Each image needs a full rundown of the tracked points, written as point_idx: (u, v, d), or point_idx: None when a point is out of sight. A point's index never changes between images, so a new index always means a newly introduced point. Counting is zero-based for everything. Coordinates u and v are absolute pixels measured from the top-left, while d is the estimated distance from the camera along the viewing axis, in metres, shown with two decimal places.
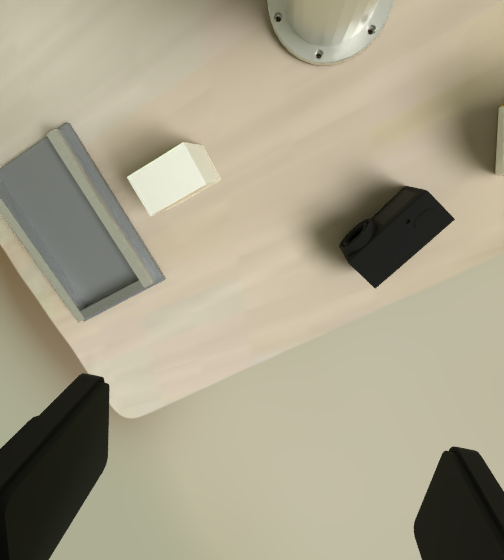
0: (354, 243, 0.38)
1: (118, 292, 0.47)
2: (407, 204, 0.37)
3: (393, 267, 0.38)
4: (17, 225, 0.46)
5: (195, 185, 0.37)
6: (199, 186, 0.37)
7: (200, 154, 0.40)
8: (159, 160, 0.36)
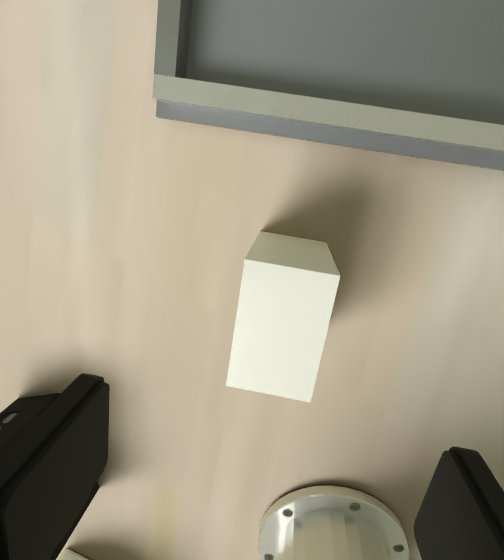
0: None
1: (177, 2, 0.19)
2: None
3: None
4: None
5: (236, 369, 0.19)
6: (230, 373, 0.19)
7: None
8: (316, 349, 0.18)
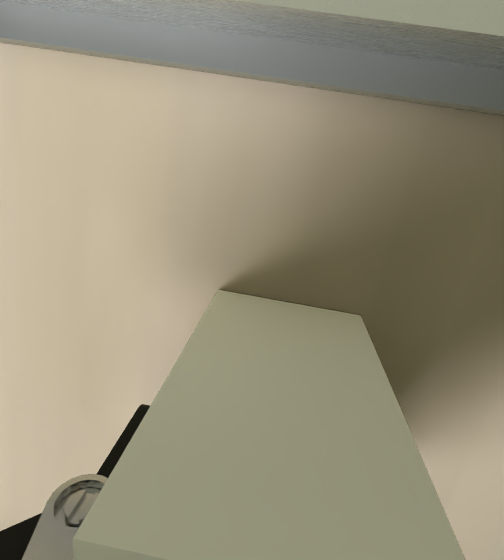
0: None
1: None
2: None
3: None
4: None
5: None
6: None
7: None
8: None
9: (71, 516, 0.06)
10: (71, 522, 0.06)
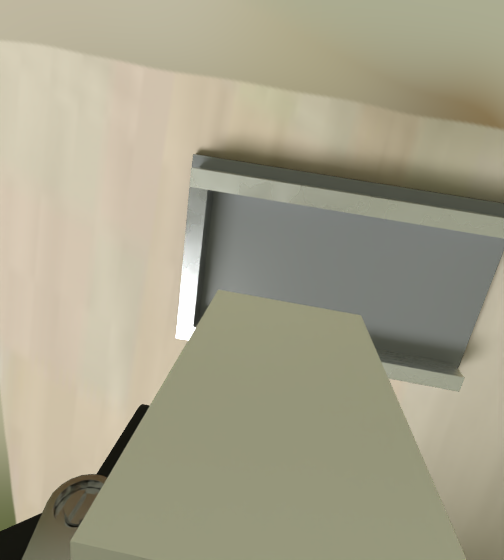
0: None
1: (195, 282, 0.26)
2: None
3: None
4: (413, 218, 0.23)
5: None
6: None
7: None
8: None
9: (71, 516, 0.06)
10: (71, 522, 0.06)
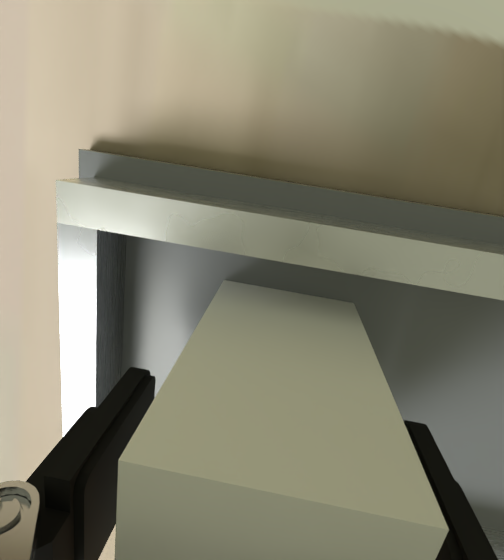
0: None
1: None
2: None
3: None
4: None
5: None
6: None
7: None
8: None
9: None
10: None
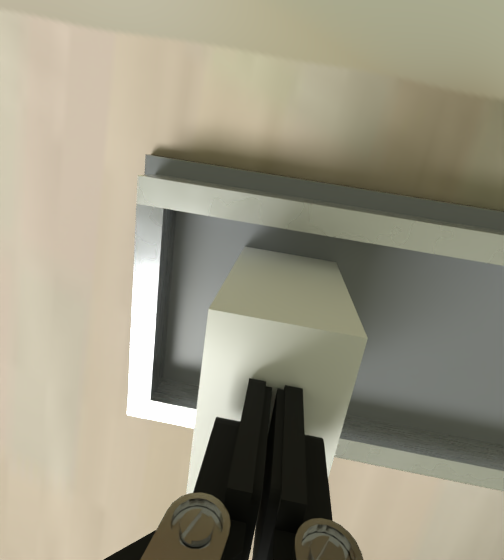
0: None
1: (151, 340, 0.18)
2: None
3: None
4: (477, 254, 0.15)
5: None
6: (192, 477, 0.12)
7: None
8: (326, 448, 0.11)
9: (185, 533, 0.06)
10: (184, 539, 0.06)
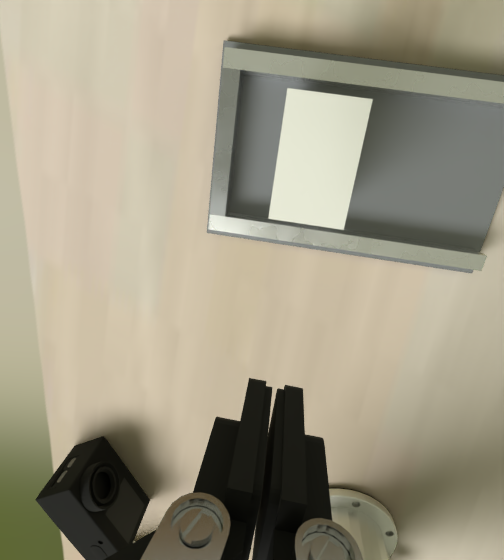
0: (89, 499, 0.35)
1: (227, 169, 0.27)
2: (118, 541, 0.37)
3: (55, 519, 0.36)
4: (440, 90, 0.24)
5: (277, 201, 0.21)
6: (272, 206, 0.21)
7: None
8: (350, 176, 0.20)
9: (185, 533, 0.06)
10: (184, 539, 0.06)
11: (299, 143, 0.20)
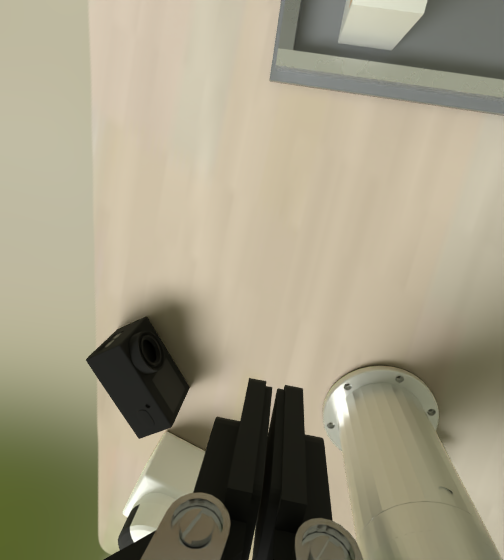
0: (138, 356, 0.35)
1: None
2: (164, 407, 0.37)
3: (104, 381, 0.36)
4: None
5: None
6: None
7: (387, 33, 0.27)
8: None
9: (185, 533, 0.06)
10: (184, 539, 0.06)
11: None
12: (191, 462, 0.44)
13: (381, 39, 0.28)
